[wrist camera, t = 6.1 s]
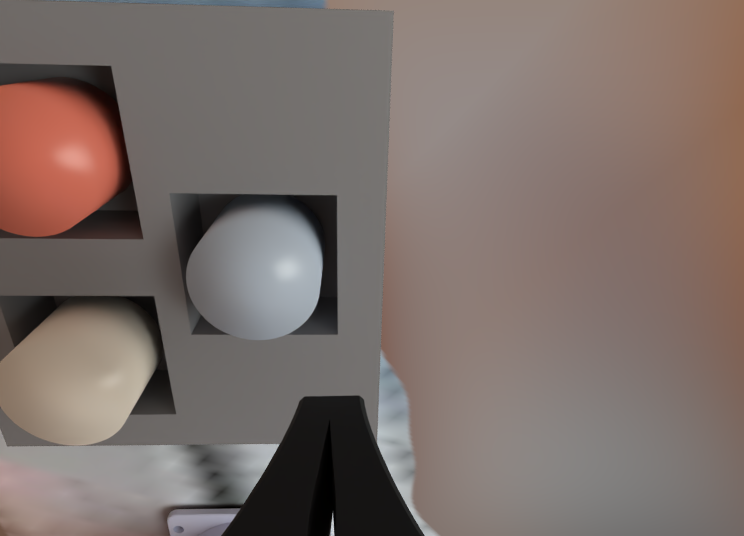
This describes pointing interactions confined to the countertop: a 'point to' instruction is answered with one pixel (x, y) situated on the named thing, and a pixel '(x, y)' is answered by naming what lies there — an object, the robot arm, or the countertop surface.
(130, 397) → the button ivory
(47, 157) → the button red
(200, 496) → the countertop surface
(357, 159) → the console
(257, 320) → the button slate
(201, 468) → the countertop surface
